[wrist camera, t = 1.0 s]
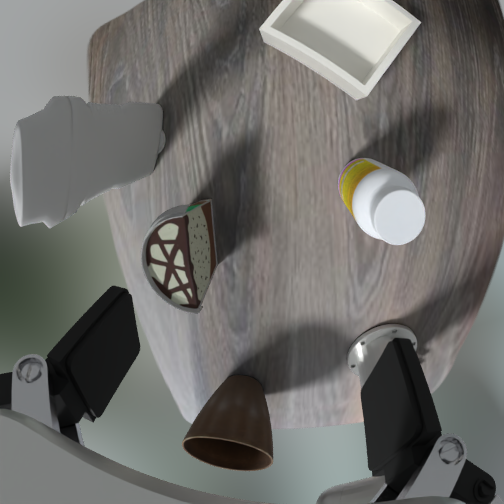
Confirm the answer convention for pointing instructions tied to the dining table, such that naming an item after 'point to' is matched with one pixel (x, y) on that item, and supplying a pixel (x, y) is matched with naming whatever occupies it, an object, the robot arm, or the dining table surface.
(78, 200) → the tall pale column
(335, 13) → the box
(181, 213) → the food container
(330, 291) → the dining table surface
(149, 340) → the dining table surface
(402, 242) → the supplement bottle
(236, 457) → the plant pot
